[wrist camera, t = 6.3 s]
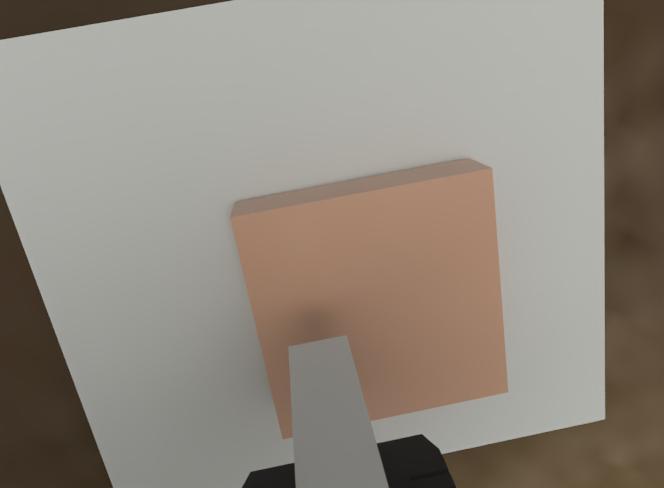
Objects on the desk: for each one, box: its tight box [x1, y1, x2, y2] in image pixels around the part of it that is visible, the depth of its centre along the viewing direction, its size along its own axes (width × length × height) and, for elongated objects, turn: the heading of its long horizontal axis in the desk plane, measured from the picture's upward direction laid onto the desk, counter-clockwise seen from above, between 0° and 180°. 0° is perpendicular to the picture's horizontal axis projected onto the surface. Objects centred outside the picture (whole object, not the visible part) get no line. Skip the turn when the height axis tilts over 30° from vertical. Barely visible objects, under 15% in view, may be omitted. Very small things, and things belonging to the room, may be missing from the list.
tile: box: [230, 158, 508, 439], centre depth 18 cm, size 2×8×8 cm
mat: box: [0, 0, 605, 488], centre depth 19 cm, size 20×18×1 cm
